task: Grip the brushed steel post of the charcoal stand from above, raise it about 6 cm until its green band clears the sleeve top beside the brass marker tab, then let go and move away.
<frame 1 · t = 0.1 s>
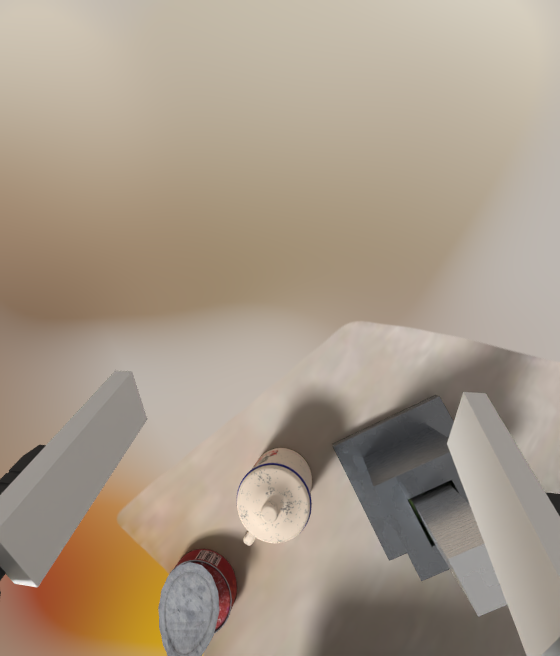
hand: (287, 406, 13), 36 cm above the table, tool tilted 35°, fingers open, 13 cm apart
teacup with lid: (277, 485, 48), on the table
canned food: (204, 582, 48), on the table
stand: (411, 473, 46), on the table
post: (441, 513, 34), point 12 cm above the table, slide at 0.0 cm
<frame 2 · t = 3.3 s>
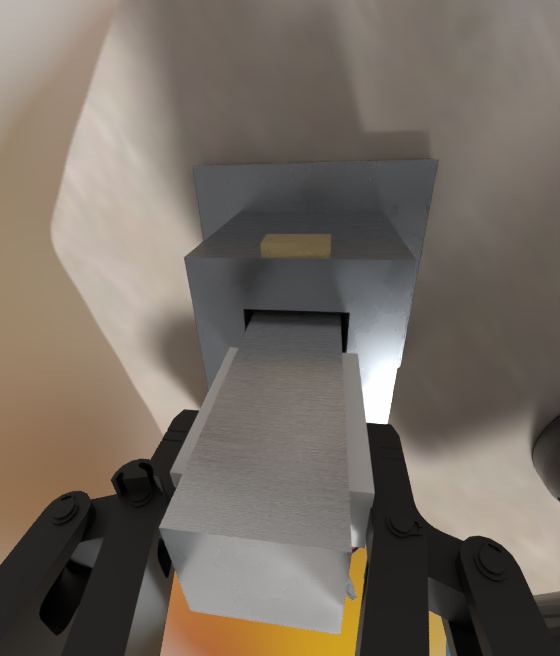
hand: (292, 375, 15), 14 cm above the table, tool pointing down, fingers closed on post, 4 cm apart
stand: (309, 271, 27), on the table
post: (295, 354, 17), point 12 cm above the table, slide at 0.0 cm, touching gripper
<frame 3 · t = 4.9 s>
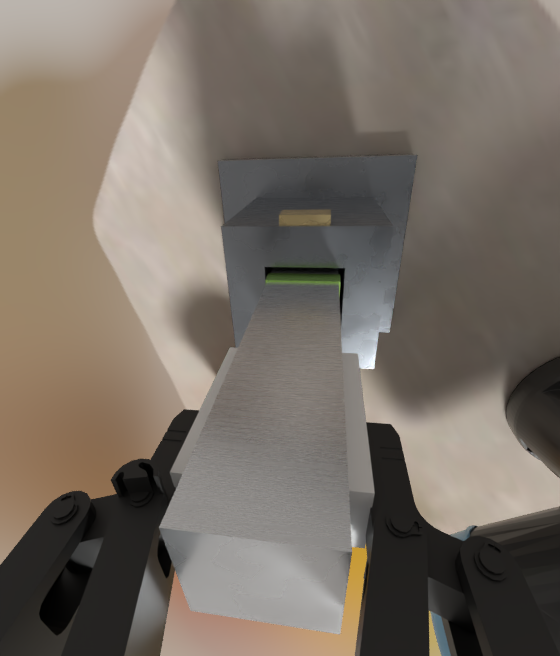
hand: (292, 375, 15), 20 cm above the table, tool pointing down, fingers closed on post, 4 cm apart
stand: (312, 249, 32), on the table
post: (295, 354, 17), point 18 cm above the table, slide at 5.9 cm, touching gripper
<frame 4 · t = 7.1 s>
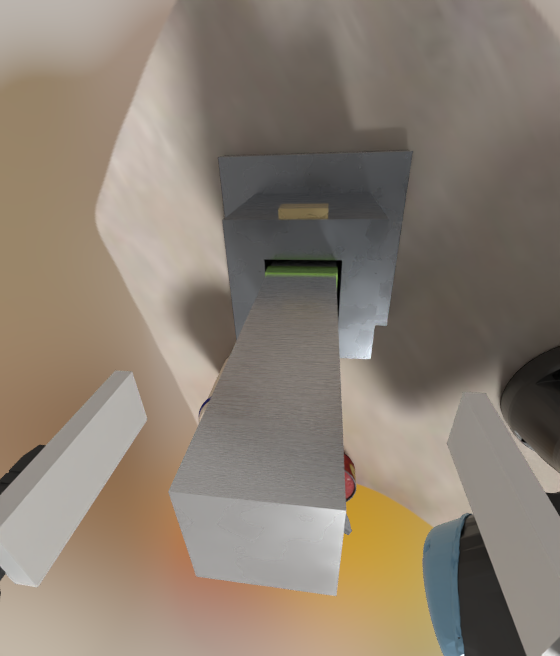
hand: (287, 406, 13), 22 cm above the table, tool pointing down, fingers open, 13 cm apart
canned food: (321, 466, 50), on the table
stand: (311, 244, 33), on the table
post: (294, 343, 17), point 18 cm above the table, slide at 6.0 cm
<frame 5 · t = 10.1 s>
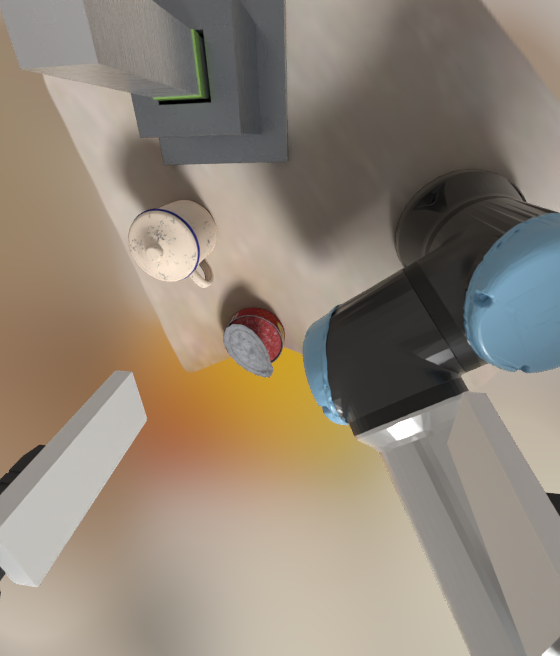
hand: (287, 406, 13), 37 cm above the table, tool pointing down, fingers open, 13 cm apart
teacup with lid: (196, 238, 49), on the table
canned food: (256, 332, 56), on the table
stand: (219, 87, 39), on the table
post: (146, 54, 24), point 18 cm above the table, slide at 6.0 cm
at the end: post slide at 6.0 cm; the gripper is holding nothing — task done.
